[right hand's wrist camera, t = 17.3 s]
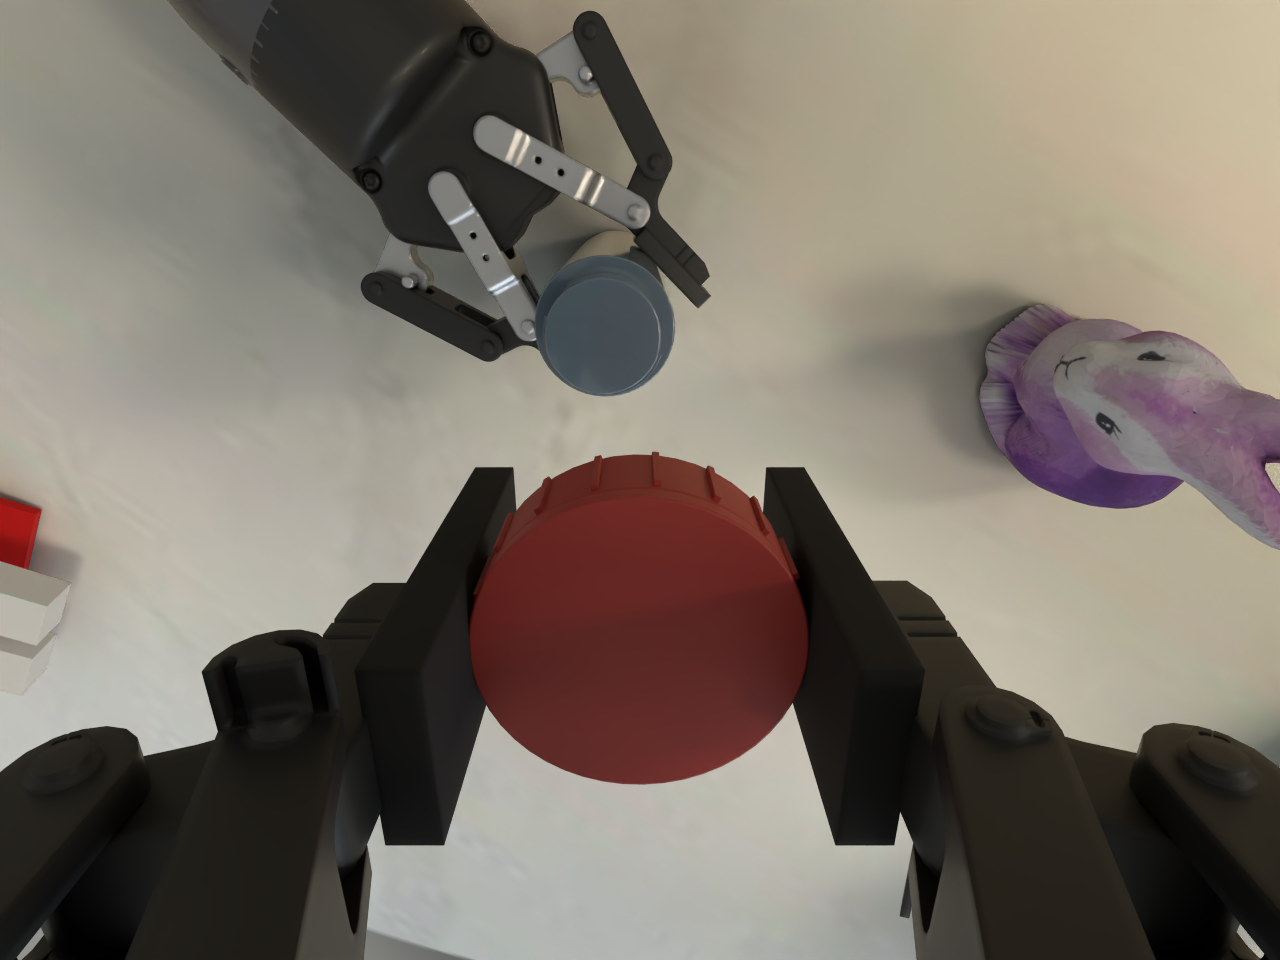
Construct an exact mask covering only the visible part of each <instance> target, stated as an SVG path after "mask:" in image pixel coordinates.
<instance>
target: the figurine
mask: <svg viewBox="0 0 1280 960" xmlns="http://www.w3.org/2000/svg"><path fill="white" fill-rule="evenodd" d="M985 358H986V366H987V370H988V372H987V376H986V379H985V381H983V382H982V385H981V388H980V395H979V400H980V403H981V408H982V412H983V414H984V416H985V420H986V422H987V425H988V428H989V431H990V433H991V435H992V436H993V438H994V440H995V443H996V444H997V446H998V447H999V449H1000V450H1001V452H1002V453H1003V454H1004V455H1005V456H1006V457H1007V458H1008V459H1009V461H1010V462H1011V463H1012V464H1013V465H1014V467H1015V468H1016V469H1017V470H1018V471H1019V472H1020V473H1021V474H1022V475H1023V476H1024V477H1026V478H1027V479H1028V480H1029V481H1031V482H1032V483H1034V484H1035V485H1037V486H1039V487H1041V488H1043V489H1045V490H1047V491H1049V492H1052V493H1054V494H1057V495H1059V496H1062V497H1064V498H1067V499H1070V500H1073V501H1076V502H1079V503H1083V504H1086V505H1090V506H1097V507H1106V508H1116V509H1121V508H1135V507H1140V506H1143V505H1147V504H1150V503H1153V502H1156V501H1158V500H1160V499H1162V498H1164V497H1166V496H1167V495H1168V494H1169V493H1171V492H1172V491H1173V490H1174V489H1176V488H1177V487H1178V486H1179V485H1180V484H1181V483H1182V482H1184V481H1185V482H1187V483H1188V484H1190V485H1191V486H1193V487H1194V488H1196V489H1197V490H1198V491H1199V492H1201V493H1202V494H1203V495H1204V496H1205V497H1206V498H1207V499H1208V500H1209V501H1210V502H1212V503H1213V504H1214V505H1215V506H1216V507H1217V508H1218V509H1219V510H1220V511H1221V512H1222V513H1224V514H1225V515H1226V516H1227V517H1228V518H1229V519H1230V520H1231V521H1232V522H1234V523H1235V524H1236V525H1238V526H1239V527H1240V528H1242V529H1243V530H1244V531H1245V532H1247V533H1248V534H1249V535H1251V536H1252V537H1254V538H1256V539H1257V540H1259V541H1260V542H1262V543H1264V544H1266V545H1268V546H1270V547H1273V548H1276V549H1279V550H1280V493H1279V492H1278V490H1277V489H1276V488H1275V486H1274V485H1273V483H1272V481H1271V480H1270V478H1269V476H1268V474H1267V472H1266V471H1265V464H1266V463H1273V462H1274V463H1280V400H1279V399H1275V398H1274V397H1272V396H1270V395H1267V394H1263V393H1259V392H1255V391H1251V390H1247V389H1246V388H1244V387H1243V386H1241V385H1240V384H1239V382H1238V381H1237V380H1236V379H1235V377H1234V376H1233V375H1232V374H1231V372H1230V371H1229V370H1228V369H1227V368H1226V366H1225V365H1224V364H1223V363H1222V362H1221V360H1220V359H1218V358H1217V357H1216V356H1215V355H1214V354H1213V353H1211V352H1210V351H1208V350H1207V349H1205V348H1204V347H1202V346H1201V345H1199V344H1198V343H1196V342H1194V341H1192V340H1190V339H1188V338H1186V337H1183V336H1181V335H1178V334H1175V333H1171V332H1164V331H1148V332H1142V331H1141V330H1139V329H1137V328H1135V327H1133V326H1131V325H1129V324H1126V323H1124V322H1120V321H1115V320H1110V319H1088V320H1086V319H1079V320H1075V319H1073V318H1071V317H1070V316H1069V315H1067V314H1066V313H1064V312H1063V311H1061V310H1060V309H1059V308H1056V307H1053V306H1050V305H1043V304H1037V305H1035V306H1033V307H1029V308H1028V309H1027V310H1024V312H1023V313H1021V314H1020V315H1019V317H1016V318H1015V319H1014V321H1011V322H1010V323H1009V324H1007V325H1006V326H1005V328H1002V329H1001V330H1000V331H998V332H997V333H996V335H995V336H994V337H993V338H992V339H991V342H990V343H989V344H988V345H987V348H986V352H985Z"/></svg>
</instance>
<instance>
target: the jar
mask: <svg viewBox="0 0 1280 960" xmlns="http://www.w3.org/2000/svg"><path fill="white" fill-rule="evenodd" d="M634 236H635V235H633V234H631V233H628V232H624V231H606V232H602V233H599V234H597V235H595V236H593V237H592V238H590V239H589V240H587V241H586V242H585V243H584V244H583V245H582V246H581V247H580V248H579V249H578V251H577V252H576V253H575V254H574V255H573V256H572V257H571V258H570V259H569V260H568V261H567V262H566V264H565V265H564V266H563V267H562V268H561V269H560V270H559V271H558V272H557V273H556V274H555V276H554V277H553V278H552V279H551V280H550V281H549V282H548V284H547V285H546V287H545V288H544V290H543V292H542V294H541V296H540V298H539V301H538V304H537V308H536V313H535V324H534V326H535V336H536V341H537V345H538V348H539V351H540V353H541V355H542V357H543V359H544V361H545V363H546V364H547V366H548V367H549V368H550V370H551V371H552V372H553V373H554V374H555V375H556V376H557V377H558V378H559V379H560V380H561V381H563V382H564V383H565V384H567V385H568V386H570V387H572V388H574V389H576V390H578V391H580V392H583V393H586V394H590V395H595V396H616V395H622V394H625V393H629V392H631V391H634V390H636V389H638V388H640V387H641V386H643V385H645V384H646V383H647V382H649V381H650V380H651V379H652V378H653V377H654V376H655V375H656V374H657V373H658V372H659V371H660V369H661V368H662V367H663V365H664V364H665V362H666V360H667V358H668V356H669V354H670V351H671V349H672V345H673V341H674V334H675V320H674V313H673V309H672V305H671V302H670V299H669V296H668V292H667V289H666V286H665V283H664V280H663V276H662V273H661V270H660V269H659V268H658V266H657V265H656V264H655V263H654V262H653V261H652V260H651V259H650V258H649V257H648V256H647V255H646V254H645V253H644V252H643V251H642V250H641V249H640V248H639V247H638V246H637V245H636V244H635V243H634V242H633V237H634Z"/></svg>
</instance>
